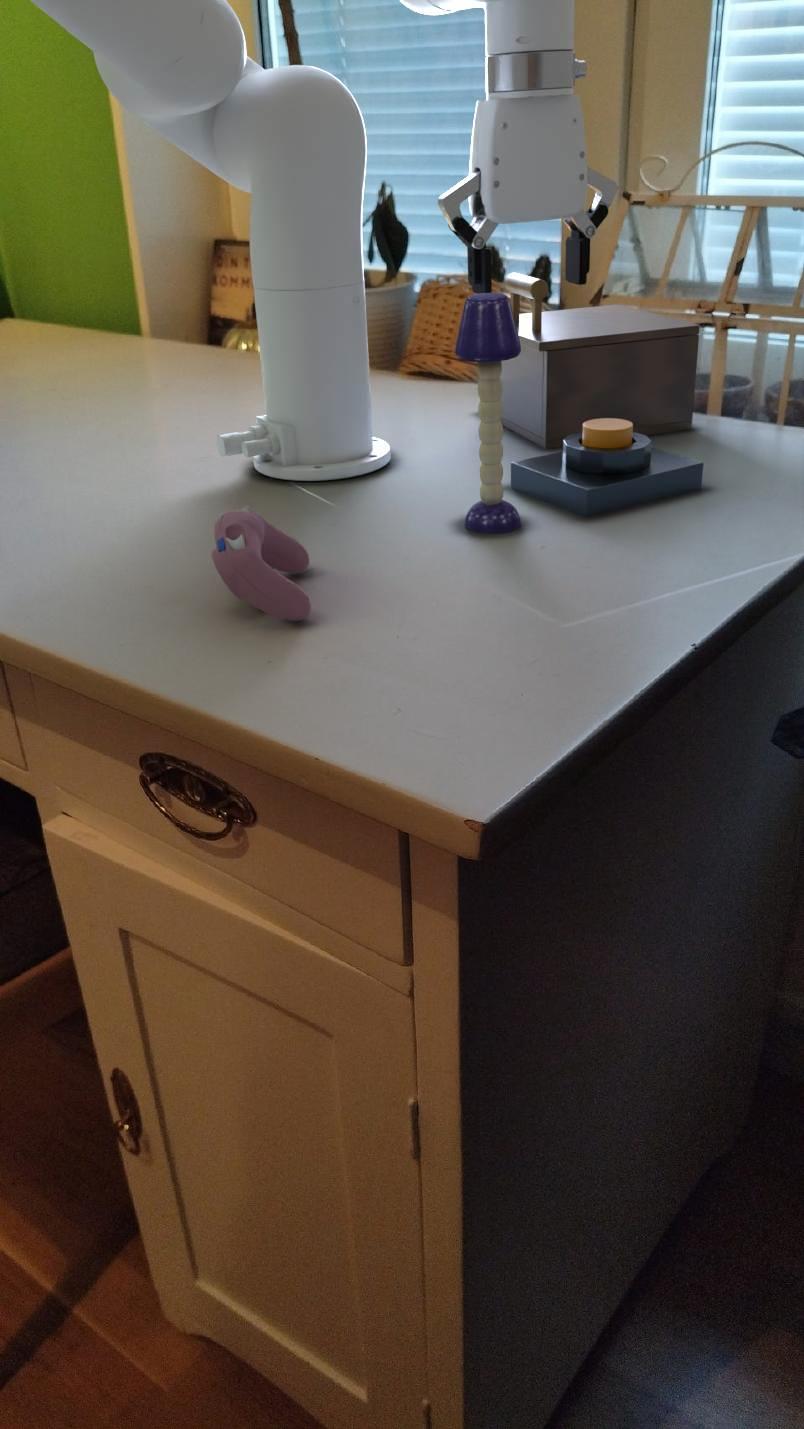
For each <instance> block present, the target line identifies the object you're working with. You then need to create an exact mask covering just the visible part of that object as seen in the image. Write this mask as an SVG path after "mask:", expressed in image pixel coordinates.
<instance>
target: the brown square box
mask: <svg viewBox="0 0 804 1429" xmlns="http://www.w3.org/2000/svg"><path fill="white" fill-rule="evenodd" d="M699 341H700V334H694V335H685V336H675V337H666V338H657V339H648V340H639V341H630V342H621V343H612V344H603V345H594V346H584V347H575V348H566V349H557V350H548V351H537V350H534V349H532V348H529V347H527V346H524V345H521V344H520V345H521V352H520V354H519V355H518V356H517V357H515V358H512V359H509V360H505V361H501V362H502V372H501V375H500V377H499V378H500V380H501V383H502V395H501V397H500V401H501V403H502V407H503V412H502V417H501V419H500V421H501V423H502V426H503V427H504V428H507V429H509V430H510V431H512V432H514V433H516V434H518V435H520V436H522V437H523V438H524V439H527V440H529V441H531V442H533V443H535V444H536V445H538V446H540V447H542V448H543V449H553V448H559V447H563V440H564V439H565V438H567V437H568V436H570V435H571V434H575V433H580V432H582V430H583V423H584V422H586V421H589V420H593V419H600V418H616V419H624V420H627V421H630V422H632V423H633V432H635V433H639V434H642V435H646V436H649V435H656V434H663V433H671V432H676V431H677V432H678V431H685V430H686V431H687V430H691V429H692V427H693V416H694V415H693V414H694V402H695V392H696V391H695V390H696V379H697V366H698V356H699Z"/></svg>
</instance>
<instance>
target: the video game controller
mask: <svg viewBox="0 0 804 1429" xmlns="http://www.w3.org/2000/svg"><path fill="white" fill-rule="evenodd" d="M214 539H215V540H214V541H215V545H216V548H214V549H213V550H211V558H212V562H213V564H214V566H215V569H216V571H217V573H218V575H219V576H220V578H221V580H222V581H223V583H224V584H225V586H226V587H227V588H228V590H229V591H230V592H231V593H232V594H233V595H234V596H235V597H236V598H239V599H242V600H243V601H244V602H246V603H247V604H248V605H249V606H250V607H251V608H252V609H254V610H260V611H262V612H264V613H266V614H268V615H271V616H272V617H275V618H278V619H282V620H283V621H289V622H291V621H292V622H295V621H301V620H304V619H306V618H307V617H308V615H309V614H310V612H311V608H312V605H311V600H310V597H309V596H308V595H307V593H306V592H305V591H304V590H303V588H301V587H300V586H299V585H298V584H296V583H295V582H293V581H292V580H290V579H288V578H287V577H286V576H284V575H283V574H281V573H279V572H283V573H287V574H301V573H303V572H305V571H306V570H307V569H308V567H309V566H310V556H309V553H308V551H307V550H306V548H305V547H304V546H303V544H301V543H300V542H299V541H298V540H296V539H295V538H293V537H291V535H289V534H287V533H285V532H283V531H282V530H280V529H279V528H277V527H275V526H274V525H273V524H271V523H270V522H269V521H268V520H266V519H265V518H264V517H263V515H262V514H259V512H258V511H255V510H250V507H249V506H248V505H245V506H244V507H243V509H241V510H238V509H232V510H230V511H228V512H226V513H224V514H222V515H221V516H219V517H218V518H216V521H215V523H214ZM278 571H279V572H278Z"/></svg>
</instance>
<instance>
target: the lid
mask: <svg viewBox="0 0 804 1429" xmlns="http://www.w3.org/2000/svg"><path fill="white" fill-rule="evenodd" d="M504 288H505V289H506V291H507V292H508V293H510V305H511V309H512V312H513V316H514V320H515V324H516V328H517V332H518V336H519V340H520V344H521V345H524V346H527V347H529V348H532V349H534V350H537V351H548V350H557V349H566V348H575V347H584V346H594V345H603V344H612V343H621V342H630V341H639V340H648V339H657V338H666V337H675V336H685V335H694V334H698V335H700V332H701V330H700V328H701V325H700V324H697V323H694V322H691V321H690V322H689V321H685V320H681V319H677V318H673V317H669V316H666V315H662V314H658V313H654V312H650V311H647V310H643V309H638V308H635V307H631V306H627V305H622V304H619V303H617V304H608V305H607V304H606V305H596V306H588V307H578V308H576V307H575V308H566V309H558V310H556V309H555V310H548V311H546V310H545V311H543V300H544V299H545V298H546V296H547V295H548V293H549V285H548V283H547V281H546V280H544V279H541V278H537V277H535V276H529V275H526V274H521V273H518V272H511V273H510V274H508V275H507V276H506V277H505V280H504ZM521 297H525V298H528V299H532V301H531V302H532V304H531V305H532V306H531V307H532V308H531V312H527V313H520V310H521V309H520V308H521V307H520V306H521V302H520V301H521Z"/></svg>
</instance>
